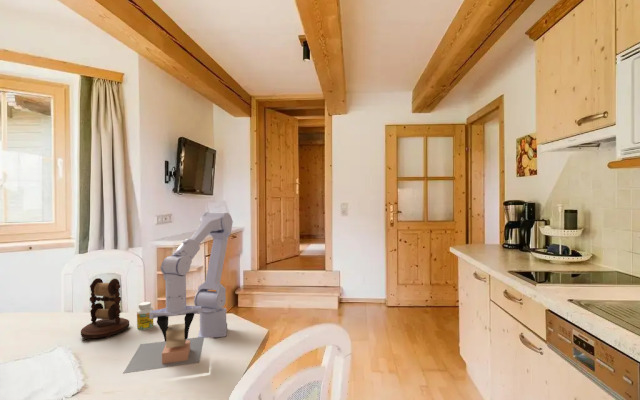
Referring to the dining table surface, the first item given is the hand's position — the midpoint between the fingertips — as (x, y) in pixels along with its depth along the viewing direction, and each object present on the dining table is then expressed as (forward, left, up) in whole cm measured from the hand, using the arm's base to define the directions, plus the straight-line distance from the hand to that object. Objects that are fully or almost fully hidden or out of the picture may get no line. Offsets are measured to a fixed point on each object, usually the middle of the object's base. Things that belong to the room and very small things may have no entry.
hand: (176, 338), depth 98 cm
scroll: (+28, -27, -6) cm, 39 cm away
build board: (+3, -3, -6) cm, 7 cm away
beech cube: (0, 0, -1) cm, 1 cm away
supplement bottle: (+15, -27, -6) cm, 32 cm away
